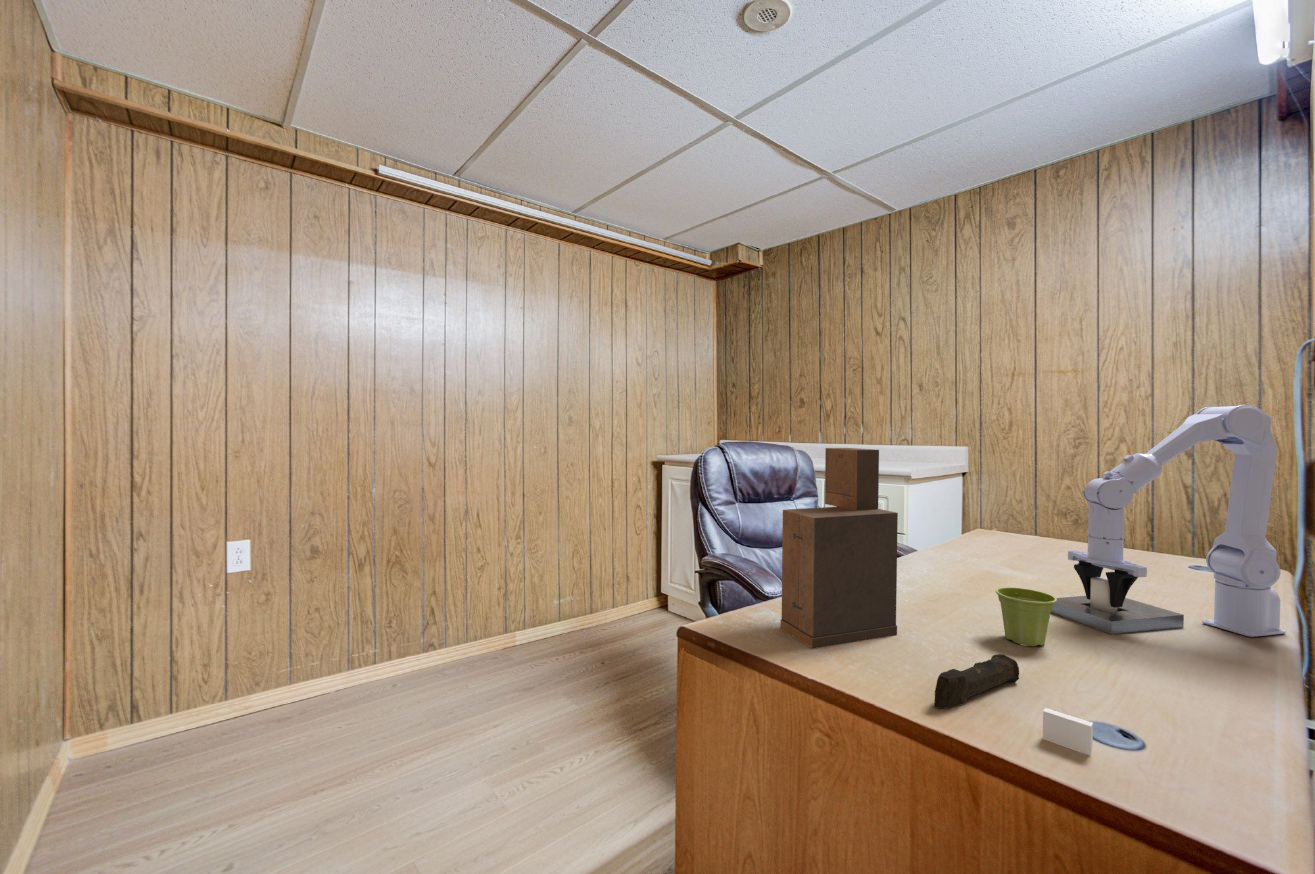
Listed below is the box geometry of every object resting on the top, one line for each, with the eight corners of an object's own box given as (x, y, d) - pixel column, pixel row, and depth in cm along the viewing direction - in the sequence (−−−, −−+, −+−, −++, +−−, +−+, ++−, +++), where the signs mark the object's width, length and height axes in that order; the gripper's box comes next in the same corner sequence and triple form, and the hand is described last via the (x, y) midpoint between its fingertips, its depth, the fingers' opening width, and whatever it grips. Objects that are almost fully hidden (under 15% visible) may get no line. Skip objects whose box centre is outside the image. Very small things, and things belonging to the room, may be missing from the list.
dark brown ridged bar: (993, 674, 89) (994, 645, 88) (1020, 684, 85) (1020, 655, 85) (917, 703, 79) (917, 671, 79) (943, 716, 76) (943, 682, 76)
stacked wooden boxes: (847, 611, 118) (849, 447, 117) (897, 635, 104) (899, 450, 104) (769, 621, 111) (771, 448, 110) (812, 648, 98) (814, 451, 97)
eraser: (1090, 756, 66) (1091, 726, 66) (1042, 739, 70) (1042, 710, 70) (1092, 752, 67) (1093, 722, 67) (1044, 736, 71) (1045, 707, 71)
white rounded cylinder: (1102, 609, 116) (1103, 576, 116) (1123, 616, 112) (1124, 582, 112) (1084, 610, 115) (1085, 577, 115) (1104, 617, 111) (1105, 583, 111)
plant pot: (994, 627, 108) (995, 584, 108) (1053, 637, 104) (1054, 591, 103) (995, 643, 100) (995, 596, 100) (1058, 655, 96) (1059, 605, 95)
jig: (1111, 604, 123) (1111, 593, 123) (1183, 627, 109) (1183, 614, 109) (1045, 610, 119) (1045, 598, 119) (1111, 634, 105) (1111, 621, 105)
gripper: (1056, 531, 119) (1055, 593, 120) (1127, 545, 105) (1125, 616, 106) (1083, 530, 121) (1081, 591, 121) (1155, 544, 107) (1154, 613, 107)
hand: (1104, 602), depth 114 cm, fingers closed on white rounded cylinder, 4 cm apart
